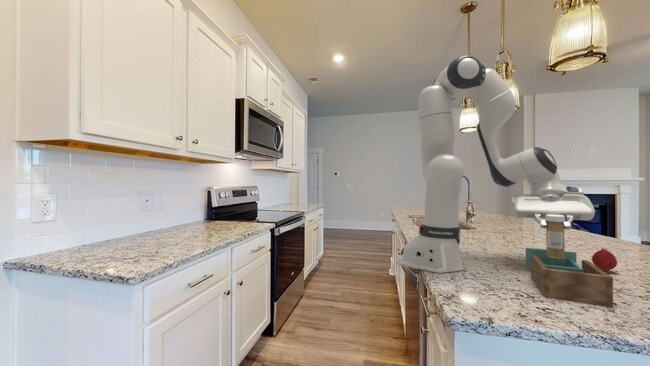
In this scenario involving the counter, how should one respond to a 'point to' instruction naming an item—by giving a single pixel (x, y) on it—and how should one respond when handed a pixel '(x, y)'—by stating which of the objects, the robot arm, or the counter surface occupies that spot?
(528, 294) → the counter surface
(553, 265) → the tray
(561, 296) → the open wooden box
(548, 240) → the pill bottle
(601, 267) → the onion
